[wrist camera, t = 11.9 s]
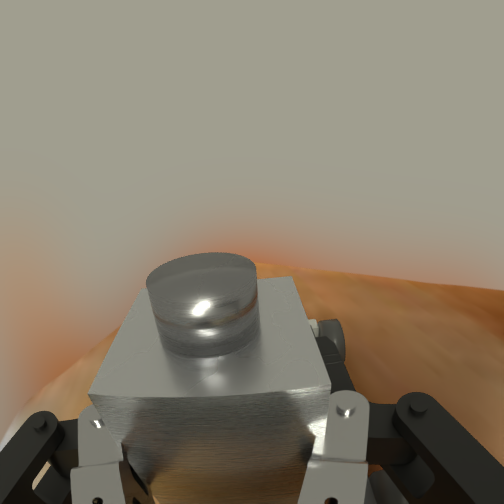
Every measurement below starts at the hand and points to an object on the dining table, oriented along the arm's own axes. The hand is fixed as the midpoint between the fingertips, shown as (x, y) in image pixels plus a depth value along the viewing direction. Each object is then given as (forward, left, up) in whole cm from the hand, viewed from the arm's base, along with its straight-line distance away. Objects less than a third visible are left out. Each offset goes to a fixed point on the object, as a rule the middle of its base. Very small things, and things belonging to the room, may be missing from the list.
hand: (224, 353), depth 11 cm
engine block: (+1, +2, -6) cm, 7 cm away
